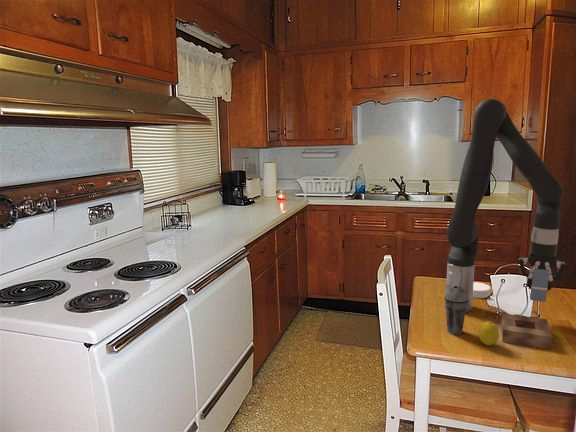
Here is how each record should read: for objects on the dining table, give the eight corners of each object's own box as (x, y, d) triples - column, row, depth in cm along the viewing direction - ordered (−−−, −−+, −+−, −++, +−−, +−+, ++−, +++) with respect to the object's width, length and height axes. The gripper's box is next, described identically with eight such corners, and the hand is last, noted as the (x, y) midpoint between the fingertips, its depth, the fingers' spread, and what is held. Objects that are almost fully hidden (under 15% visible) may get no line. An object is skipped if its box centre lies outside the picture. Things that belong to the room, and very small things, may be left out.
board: (502, 341, 132) (503, 329, 131) (501, 324, 143) (501, 313, 142) (550, 349, 126) (552, 337, 125) (545, 330, 138) (546, 319, 137)
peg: (530, 300, 142) (533, 269, 140) (529, 295, 146) (532, 264, 144) (545, 302, 140) (549, 270, 138) (544, 297, 144) (547, 266, 142)
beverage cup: (438, 329, 141) (440, 272, 137) (454, 325, 144) (457, 268, 140) (454, 338, 134) (457, 279, 130) (471, 334, 137) (475, 275, 133)
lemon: (474, 342, 132) (476, 318, 130) (491, 340, 132) (493, 317, 131) (484, 350, 126) (486, 326, 125) (501, 349, 127) (503, 324, 125)
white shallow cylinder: (490, 300, 164) (491, 291, 163) (462, 296, 168) (463, 288, 167) (490, 291, 172) (491, 283, 172) (464, 288, 177) (464, 280, 176)
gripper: (520, 241, 138) (515, 290, 142) (572, 245, 133) (565, 296, 136) (518, 235, 145) (513, 282, 149) (567, 240, 139) (561, 288, 143)
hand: (538, 289), depth 142 cm, fingers closed on peg, 4 cm apart
